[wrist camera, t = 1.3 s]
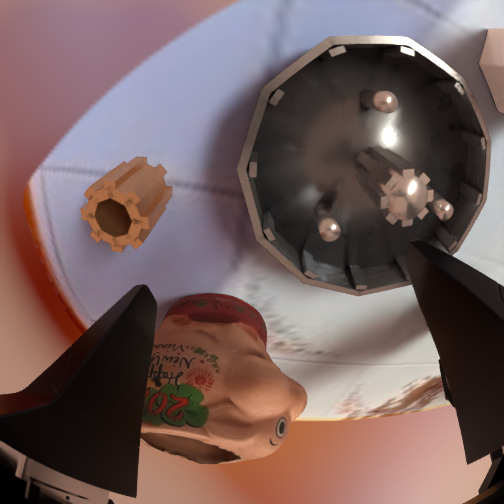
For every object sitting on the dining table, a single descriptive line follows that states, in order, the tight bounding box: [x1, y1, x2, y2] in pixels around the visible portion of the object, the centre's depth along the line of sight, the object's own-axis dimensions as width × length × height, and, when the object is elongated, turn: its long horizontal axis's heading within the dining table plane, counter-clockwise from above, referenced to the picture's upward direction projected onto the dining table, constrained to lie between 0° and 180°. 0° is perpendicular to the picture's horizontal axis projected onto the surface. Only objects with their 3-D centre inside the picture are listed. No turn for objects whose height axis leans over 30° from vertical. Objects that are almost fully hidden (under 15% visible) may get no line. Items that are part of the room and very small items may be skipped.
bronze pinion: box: [80, 157, 172, 252], centre depth 17 cm, size 5×5×5 cm
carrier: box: [237, 36, 491, 296], centre depth 15 cm, size 18×18×6 cm
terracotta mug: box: [140, 293, 307, 464], centre depth 22 cm, size 20×12×14 cm, turn 99°
